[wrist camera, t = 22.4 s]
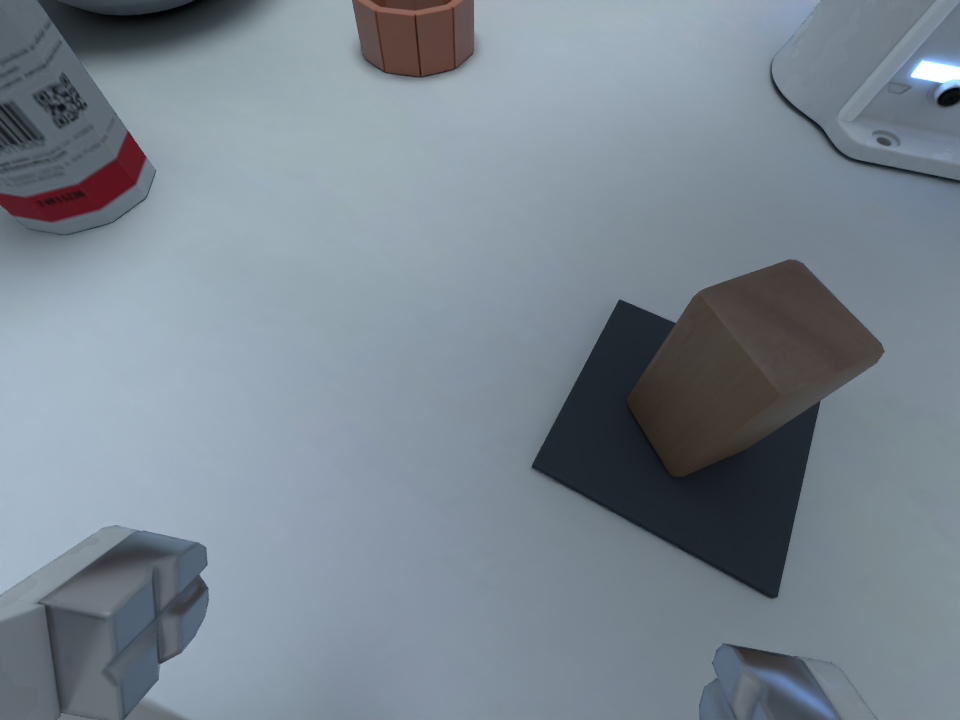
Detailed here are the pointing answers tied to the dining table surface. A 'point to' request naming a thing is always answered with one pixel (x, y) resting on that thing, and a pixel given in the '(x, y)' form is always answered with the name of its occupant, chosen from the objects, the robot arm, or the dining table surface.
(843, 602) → the dining table surface
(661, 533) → the mat
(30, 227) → the spray bottle
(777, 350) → the wooden block
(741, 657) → the robot arm
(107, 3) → the bowl
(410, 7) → the holder
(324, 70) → the dining table surface
